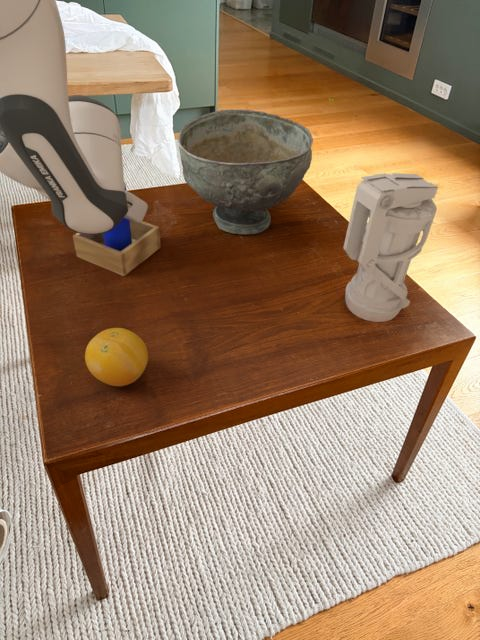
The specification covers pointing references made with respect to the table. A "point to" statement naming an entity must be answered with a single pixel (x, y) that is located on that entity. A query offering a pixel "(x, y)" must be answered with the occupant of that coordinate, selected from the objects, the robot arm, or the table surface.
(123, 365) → the fruit
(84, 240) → the wooden tray
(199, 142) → the decorative bowl
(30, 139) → the robot arm
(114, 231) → the beverage can
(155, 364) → the table surface
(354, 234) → the lantern
